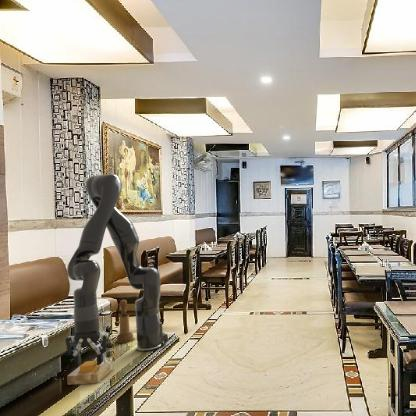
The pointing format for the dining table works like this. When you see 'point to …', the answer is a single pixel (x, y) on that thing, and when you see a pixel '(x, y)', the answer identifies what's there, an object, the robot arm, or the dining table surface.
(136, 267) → the robot arm
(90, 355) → the dining table surface
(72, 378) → the wooden square tray
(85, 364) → the orange block
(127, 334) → the brown tall wooden piece
